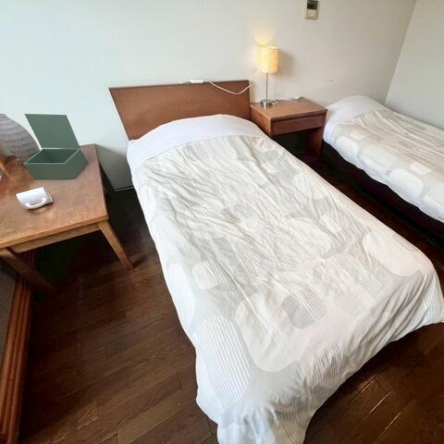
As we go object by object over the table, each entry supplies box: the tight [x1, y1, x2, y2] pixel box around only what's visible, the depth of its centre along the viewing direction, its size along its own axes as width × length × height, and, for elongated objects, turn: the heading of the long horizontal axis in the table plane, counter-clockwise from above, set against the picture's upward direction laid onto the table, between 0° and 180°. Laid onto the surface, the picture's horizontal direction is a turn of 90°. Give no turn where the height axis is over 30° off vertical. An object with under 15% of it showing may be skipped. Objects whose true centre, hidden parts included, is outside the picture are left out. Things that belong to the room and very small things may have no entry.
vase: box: [0, 113, 41, 164], centre depth 139 cm, size 13×13×28 cm
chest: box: [22, 148, 89, 181], centre depth 141 cm, size 18×20×10 cm
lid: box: [24, 113, 81, 149], centre depth 141 cm, size 18×20×5 cm
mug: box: [15, 186, 54, 210], centre depth 119 cm, size 12×10×8 cm
